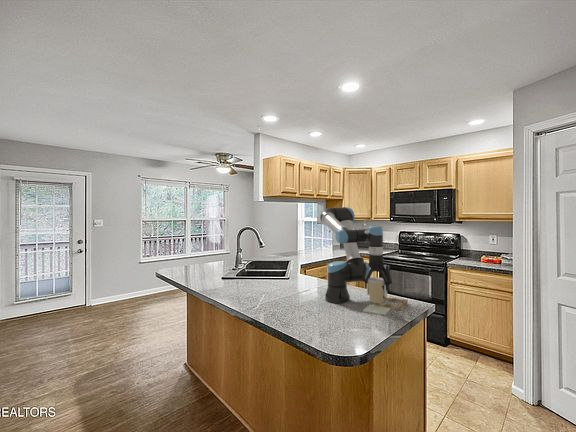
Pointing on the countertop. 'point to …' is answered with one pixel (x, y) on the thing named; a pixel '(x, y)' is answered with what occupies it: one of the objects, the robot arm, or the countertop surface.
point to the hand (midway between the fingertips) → (377, 295)
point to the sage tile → (377, 309)
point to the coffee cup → (376, 289)
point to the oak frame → (393, 305)
